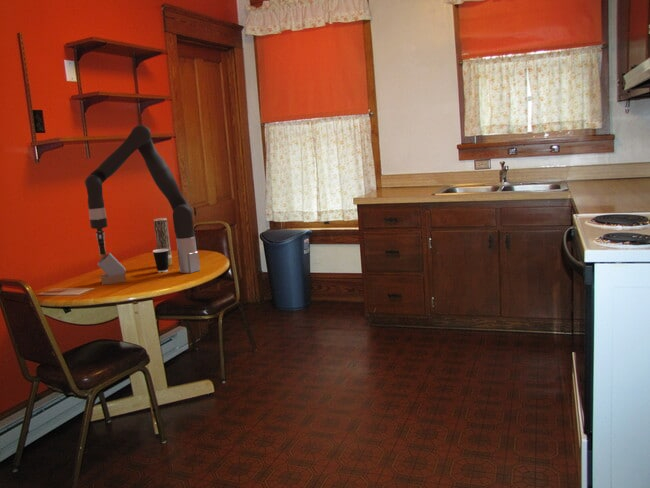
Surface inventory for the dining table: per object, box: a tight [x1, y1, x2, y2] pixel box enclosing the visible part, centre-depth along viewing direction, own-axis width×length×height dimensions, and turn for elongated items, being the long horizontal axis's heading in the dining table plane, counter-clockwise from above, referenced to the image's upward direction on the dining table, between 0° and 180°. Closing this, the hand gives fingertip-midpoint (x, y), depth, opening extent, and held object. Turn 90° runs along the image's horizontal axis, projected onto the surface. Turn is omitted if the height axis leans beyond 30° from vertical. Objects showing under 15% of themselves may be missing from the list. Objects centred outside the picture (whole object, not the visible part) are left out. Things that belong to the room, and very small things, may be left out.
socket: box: [97, 252, 127, 286], centre depth 296 cm, size 12×9×14 cm
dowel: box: [97, 240, 107, 260], centre depth 294 cm, size 3×3×12 cm
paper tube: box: [153, 217, 173, 267], centre depth 326 cm, size 7×7×25 cm
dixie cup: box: [152, 248, 169, 274], centre depth 312 cm, size 8×8×11 cm
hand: (102, 253), depth 294 cm, fingers closed on dowel, 3 cm apart
